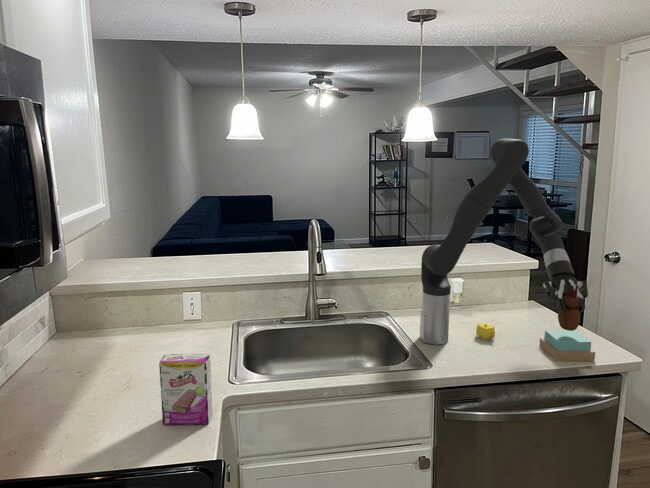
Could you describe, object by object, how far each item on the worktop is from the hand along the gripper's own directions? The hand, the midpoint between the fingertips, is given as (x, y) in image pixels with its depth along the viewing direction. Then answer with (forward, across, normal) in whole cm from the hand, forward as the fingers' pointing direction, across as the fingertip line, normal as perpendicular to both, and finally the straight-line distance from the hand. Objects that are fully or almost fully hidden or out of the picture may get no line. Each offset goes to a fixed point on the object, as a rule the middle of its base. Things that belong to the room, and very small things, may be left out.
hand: (572, 310), depth 153 cm
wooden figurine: (+4, 0, +6) cm, 7 cm away
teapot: (0, -21, +22) cm, 30 cm away
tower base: (+10, 0, +12) cm, 15 cm away
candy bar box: (+37, -112, -17) cm, 119 cm away
